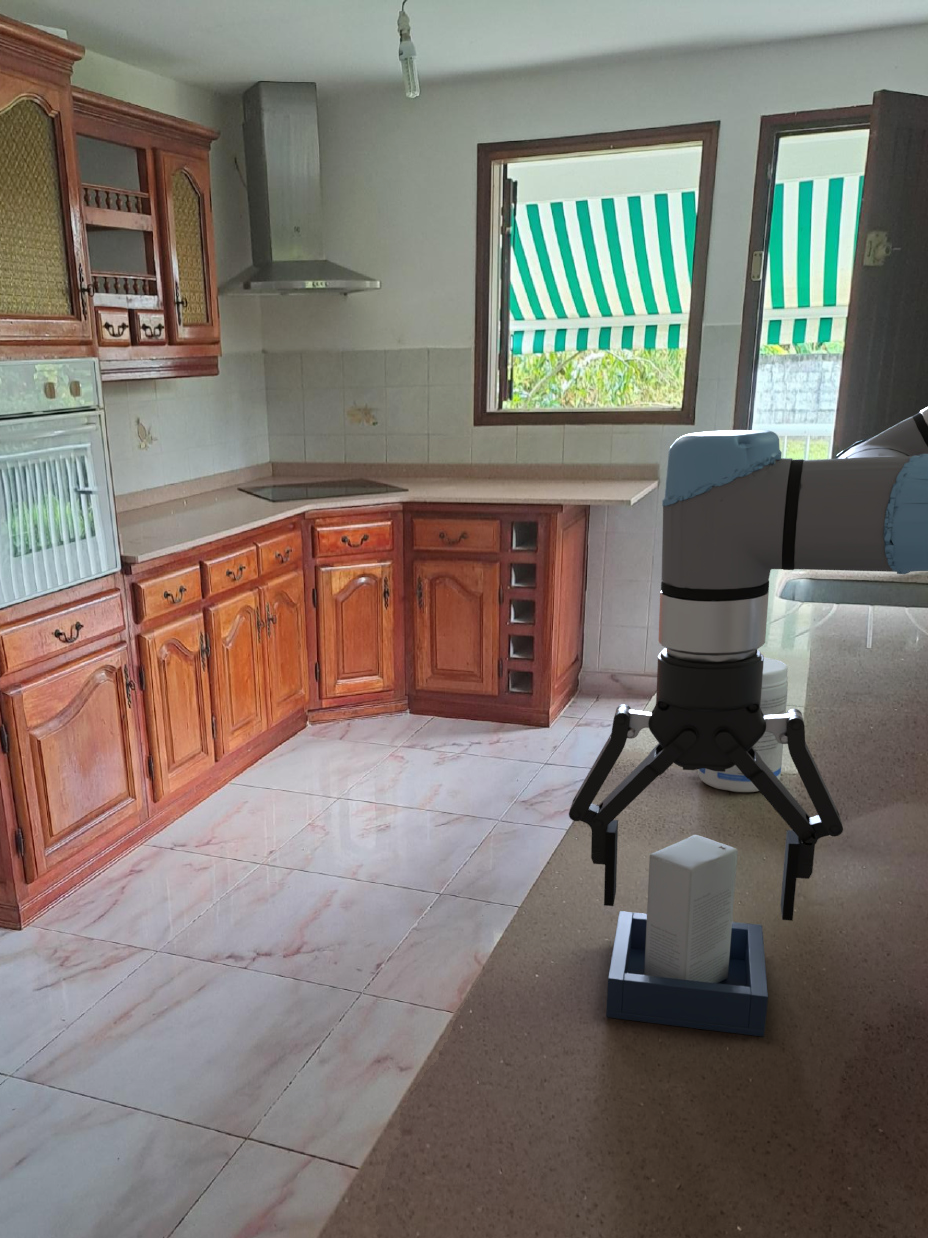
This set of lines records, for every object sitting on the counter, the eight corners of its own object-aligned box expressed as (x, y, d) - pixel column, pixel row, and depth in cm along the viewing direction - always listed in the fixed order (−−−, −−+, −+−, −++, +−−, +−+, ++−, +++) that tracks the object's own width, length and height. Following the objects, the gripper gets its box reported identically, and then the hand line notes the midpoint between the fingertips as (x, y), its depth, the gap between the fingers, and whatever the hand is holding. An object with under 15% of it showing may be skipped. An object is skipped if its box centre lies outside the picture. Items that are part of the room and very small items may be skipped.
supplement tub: (796, 782, 135) (808, 665, 130) (745, 801, 130) (756, 679, 125) (730, 762, 143) (739, 650, 138) (679, 779, 138) (687, 664, 133)
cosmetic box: (686, 960, 96) (695, 832, 92) (728, 979, 93) (740, 848, 88) (640, 984, 93) (647, 852, 88) (682, 1005, 89) (692, 870, 85)
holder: (758, 961, 96) (762, 924, 95) (763, 1037, 86) (768, 996, 84) (617, 946, 100) (619, 910, 99) (606, 1017, 89) (607, 978, 88)
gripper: (888, 639, 82) (859, 897, 89) (548, 635, 90) (547, 874, 97) (903, 664, 76) (870, 941, 83) (534, 658, 83) (534, 913, 90)
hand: (696, 905), depth 90 cm, fingers open, 13 cm apart
